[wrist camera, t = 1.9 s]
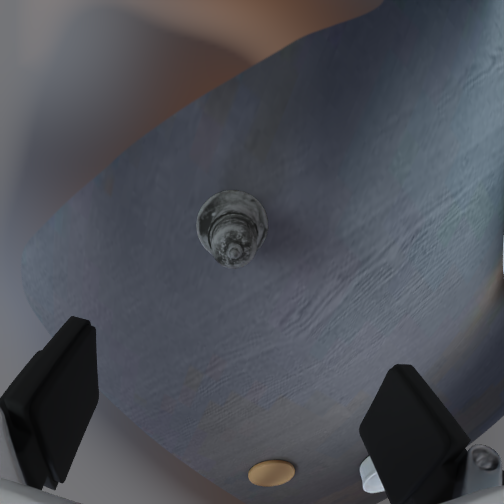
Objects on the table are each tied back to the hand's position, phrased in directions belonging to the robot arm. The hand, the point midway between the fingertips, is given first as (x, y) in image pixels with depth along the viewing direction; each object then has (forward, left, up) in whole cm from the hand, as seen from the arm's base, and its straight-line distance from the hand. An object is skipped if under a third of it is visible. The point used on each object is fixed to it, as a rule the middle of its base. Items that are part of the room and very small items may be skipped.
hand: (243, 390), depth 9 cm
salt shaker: (0, +1, -22) cm, 22 cm away
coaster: (+12, -35, -22) cm, 43 cm away
